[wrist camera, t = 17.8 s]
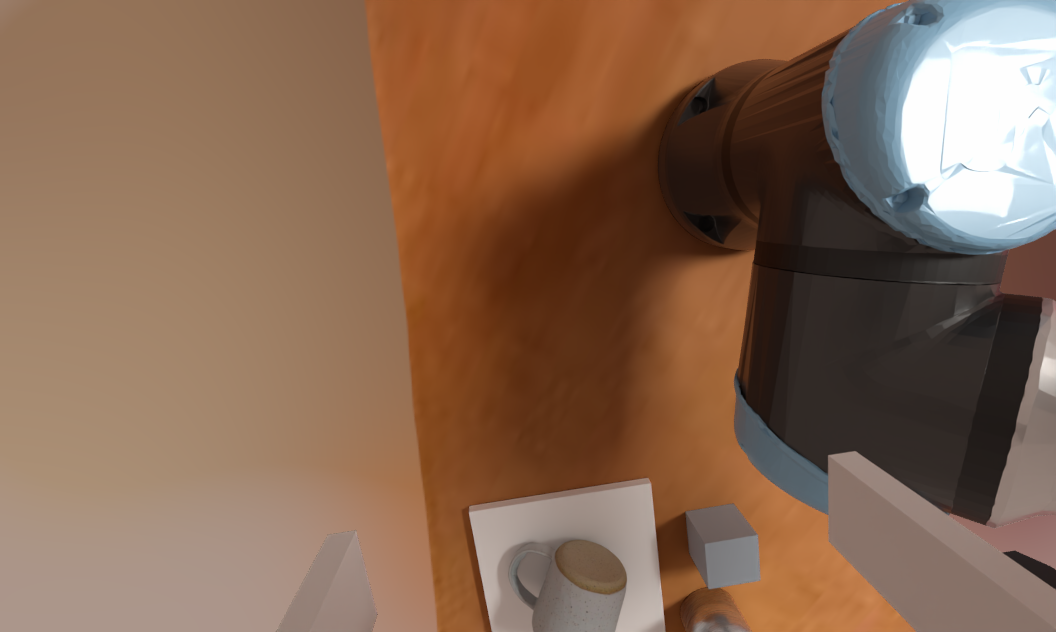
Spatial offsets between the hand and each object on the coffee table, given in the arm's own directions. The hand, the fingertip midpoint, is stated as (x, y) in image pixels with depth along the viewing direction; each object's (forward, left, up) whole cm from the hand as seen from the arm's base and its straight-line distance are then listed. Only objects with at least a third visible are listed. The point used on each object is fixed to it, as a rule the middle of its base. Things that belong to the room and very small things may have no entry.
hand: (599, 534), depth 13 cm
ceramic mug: (+1, +27, -31) cm, 41 cm away
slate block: (-15, +26, -32) cm, 44 cm away
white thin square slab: (0, +28, -32) cm, 42 cm away
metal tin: (-14, +36, -32) cm, 50 cm away
